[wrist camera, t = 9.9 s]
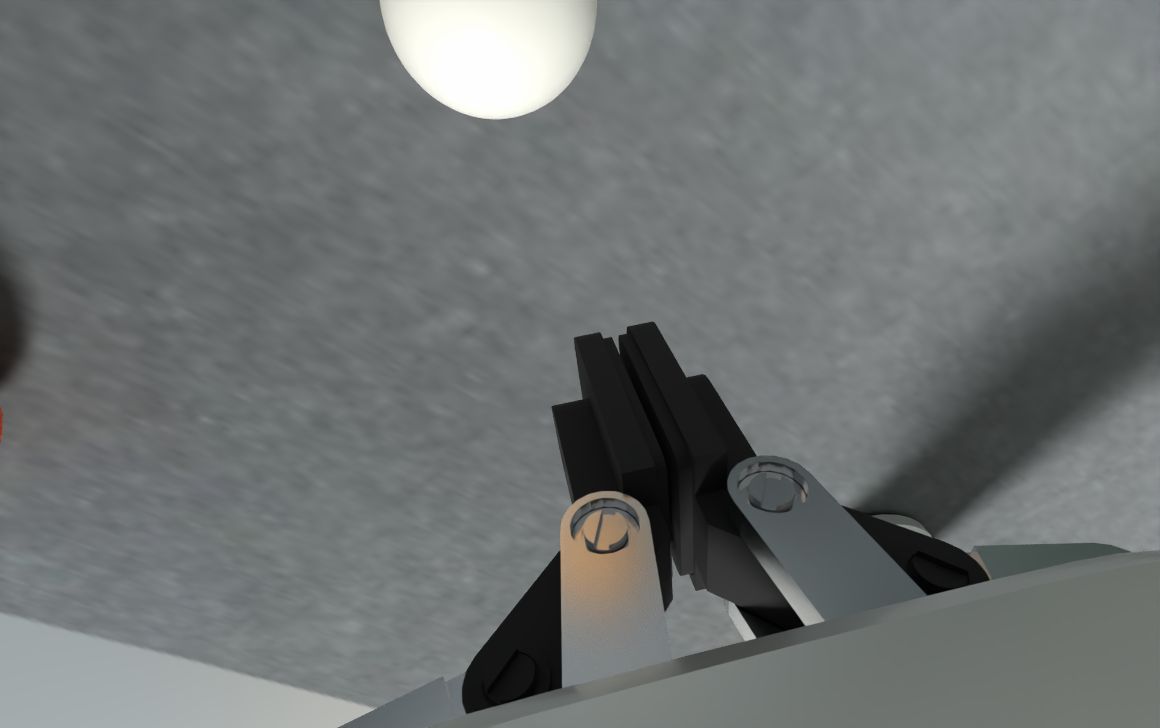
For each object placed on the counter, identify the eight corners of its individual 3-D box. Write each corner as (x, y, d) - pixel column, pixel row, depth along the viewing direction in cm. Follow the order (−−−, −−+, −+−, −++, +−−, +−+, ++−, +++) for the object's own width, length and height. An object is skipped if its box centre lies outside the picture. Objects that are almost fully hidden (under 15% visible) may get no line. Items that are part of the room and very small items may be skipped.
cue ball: (525, -149, 11) (485, -231, 14) (328, 50, 13) (329, -60, 16) (660, 71, 15) (606, -29, 18) (495, 195, 17) (471, 87, 20)
